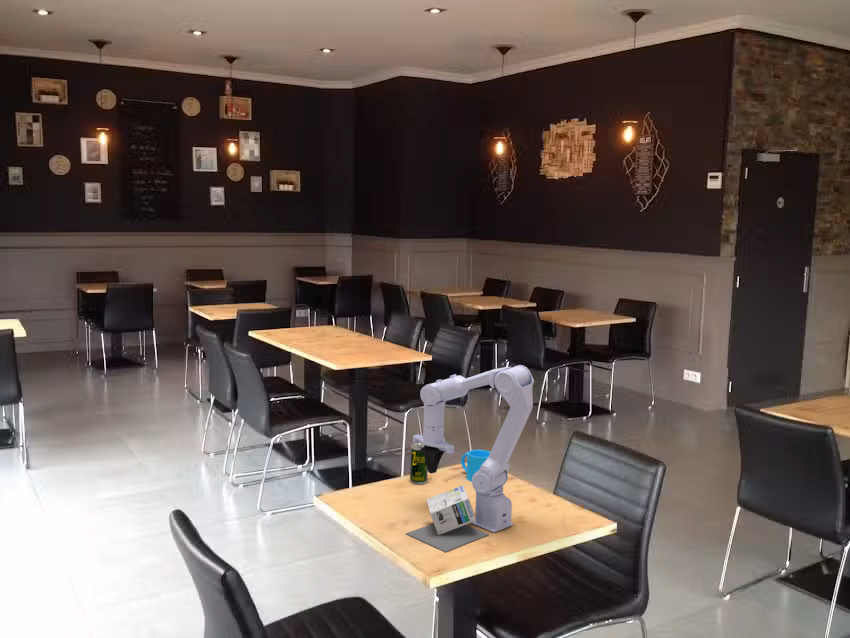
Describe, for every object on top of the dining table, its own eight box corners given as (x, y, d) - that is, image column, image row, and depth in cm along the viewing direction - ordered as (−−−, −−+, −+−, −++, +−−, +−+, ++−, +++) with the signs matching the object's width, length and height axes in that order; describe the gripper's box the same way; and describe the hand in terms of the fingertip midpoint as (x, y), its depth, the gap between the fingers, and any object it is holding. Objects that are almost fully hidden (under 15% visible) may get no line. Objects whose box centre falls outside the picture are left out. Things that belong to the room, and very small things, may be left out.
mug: (497, 479, 250) (498, 454, 249) (480, 484, 244) (481, 459, 243) (469, 469, 258) (470, 445, 257) (452, 474, 253) (453, 450, 252)
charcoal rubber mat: (488, 535, 206) (488, 534, 206) (445, 552, 195) (445, 551, 195) (449, 518, 216) (449, 517, 216) (405, 534, 205) (405, 533, 205)
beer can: (410, 478, 248) (411, 441, 246) (427, 479, 248) (428, 442, 246) (409, 484, 243) (410, 446, 241) (427, 485, 243) (428, 447, 241)
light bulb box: (438, 536, 204) (477, 521, 205) (429, 513, 203) (468, 498, 203) (433, 520, 215) (471, 506, 215) (425, 497, 214) (463, 483, 214)
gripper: (462, 428, 219) (460, 475, 220) (426, 417, 229) (424, 463, 231) (444, 432, 214) (442, 481, 216) (408, 421, 224) (406, 468, 226)
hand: (432, 472), depth 223 cm, fingers closed
